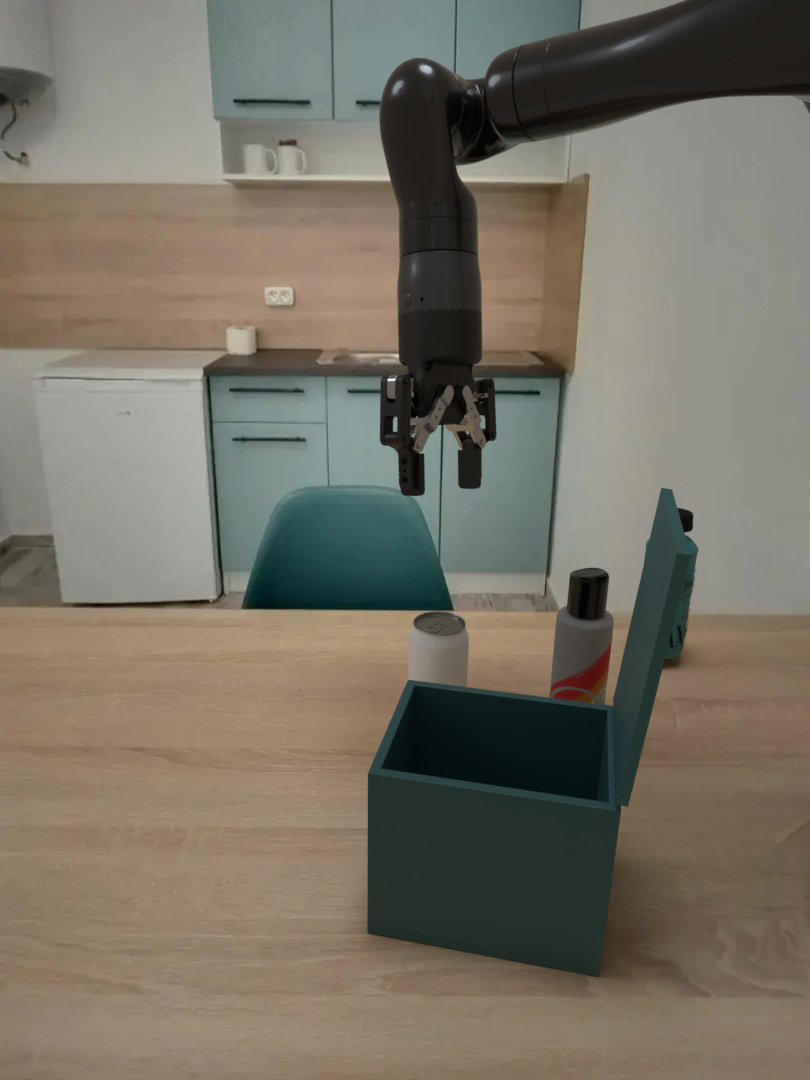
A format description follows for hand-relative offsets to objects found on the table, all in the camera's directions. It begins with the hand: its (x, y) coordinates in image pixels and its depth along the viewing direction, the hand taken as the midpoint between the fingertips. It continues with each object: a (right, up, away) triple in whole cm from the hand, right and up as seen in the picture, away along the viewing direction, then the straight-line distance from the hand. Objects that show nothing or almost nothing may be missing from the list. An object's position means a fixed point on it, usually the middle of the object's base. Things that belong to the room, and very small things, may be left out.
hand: (442, 491), depth 76 cm
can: (0, -25, +16) cm, 30 cm away
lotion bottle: (+14, -26, +12) cm, 33 cm away
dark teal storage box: (+4, -33, -8) cm, 34 cm away
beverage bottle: (+29, -20, +31) cm, 47 cm away
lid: (+13, -11, -18) cm, 25 cm away
